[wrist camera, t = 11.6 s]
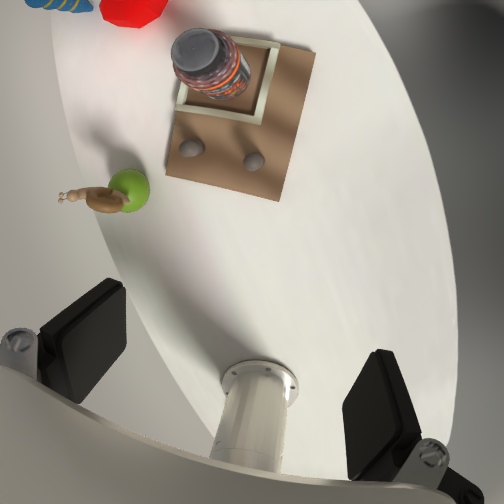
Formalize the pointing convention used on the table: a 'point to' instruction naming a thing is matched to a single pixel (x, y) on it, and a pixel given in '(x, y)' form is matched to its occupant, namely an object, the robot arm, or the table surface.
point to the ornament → (62, 5)
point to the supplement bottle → (210, 63)
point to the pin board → (244, 124)
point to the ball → (131, 11)
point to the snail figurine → (115, 193)
